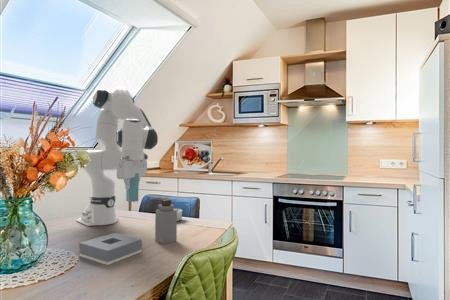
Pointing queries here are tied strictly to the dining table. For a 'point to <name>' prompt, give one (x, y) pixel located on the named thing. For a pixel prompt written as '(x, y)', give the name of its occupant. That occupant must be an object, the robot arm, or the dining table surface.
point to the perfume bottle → (166, 222)
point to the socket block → (110, 248)
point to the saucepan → (179, 214)
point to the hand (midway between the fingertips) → (132, 187)
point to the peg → (133, 189)
